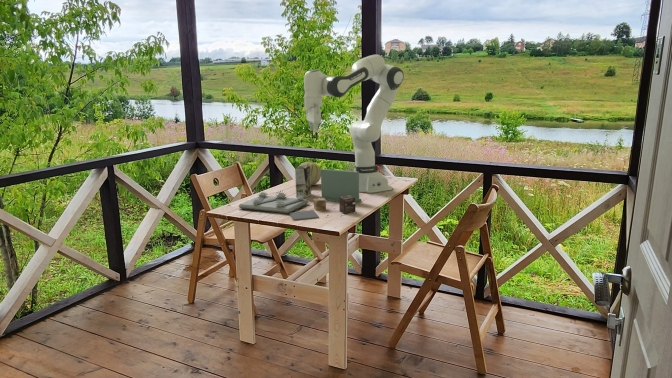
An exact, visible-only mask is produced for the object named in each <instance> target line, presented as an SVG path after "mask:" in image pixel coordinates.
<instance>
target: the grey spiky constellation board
mask: <svg viewBox="0 0 672 378" xmlns="http://www.w3.org/2000/svg"><path fill="white" fill-rule="evenodd" d="M266 192H267V191H263V190H262V191H259V192H258V194H257V196H256V197H254V198H252V199H250V200H247V201H244V202H242V203H240V204H239V205H238V207H239V209H242V210H243V209H244V210H251V211H252V210H253V211H263V212H269V213H270V212H272V213H281V214H289V213H290V212H295V211H296V210H298V209H300V208H302V207H303V206H306V205H308V204H309V203H310V201H309V200H308V199H305V197H303V196H302V195H301V196H300V197H298V196H297V197H296V198H295V197H287V194H286V193H285V192H284V191H283V190H278V192H276V194H275V195H274V196H271V195H269V194H268V193H266Z"/></svg>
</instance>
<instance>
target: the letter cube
mask: <svg viewBox="0 0 672 378" xmlns="http://www.w3.org/2000/svg"><path fill="white" fill-rule="evenodd" d="M313 209H314V211H315V212H317V211H318V212H319V211H326V210H327V200H325V199H324V198H320V197H319V198H313Z"/></svg>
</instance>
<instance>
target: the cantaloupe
mask: <svg viewBox="0 0 672 378" xmlns="http://www.w3.org/2000/svg"><path fill="white" fill-rule="evenodd" d="M299 166H310V181H311V187H312V186H315V185H317V183H319V182H320V181H321V168H320V166H319V165H318V164H316V163H315V162H313V160H310V161H304V162H302V163H300V164H299Z"/></svg>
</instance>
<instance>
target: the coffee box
mask: <svg viewBox="0 0 672 378" xmlns="http://www.w3.org/2000/svg"><path fill="white" fill-rule="evenodd" d="M294 169H295V171H294V172H295V173H294V174H295V175H294V176H295V193H296V195H295V197H296V198H298V197H300V196H301V195H302V196H303V197H304V198H308V197H309V196H310V195H311V194H312V186H311V181H310V166H300V165H298V166H297V167H295V168H294ZM297 196H298V197H297ZM303 197H302V198H303Z"/></svg>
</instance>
